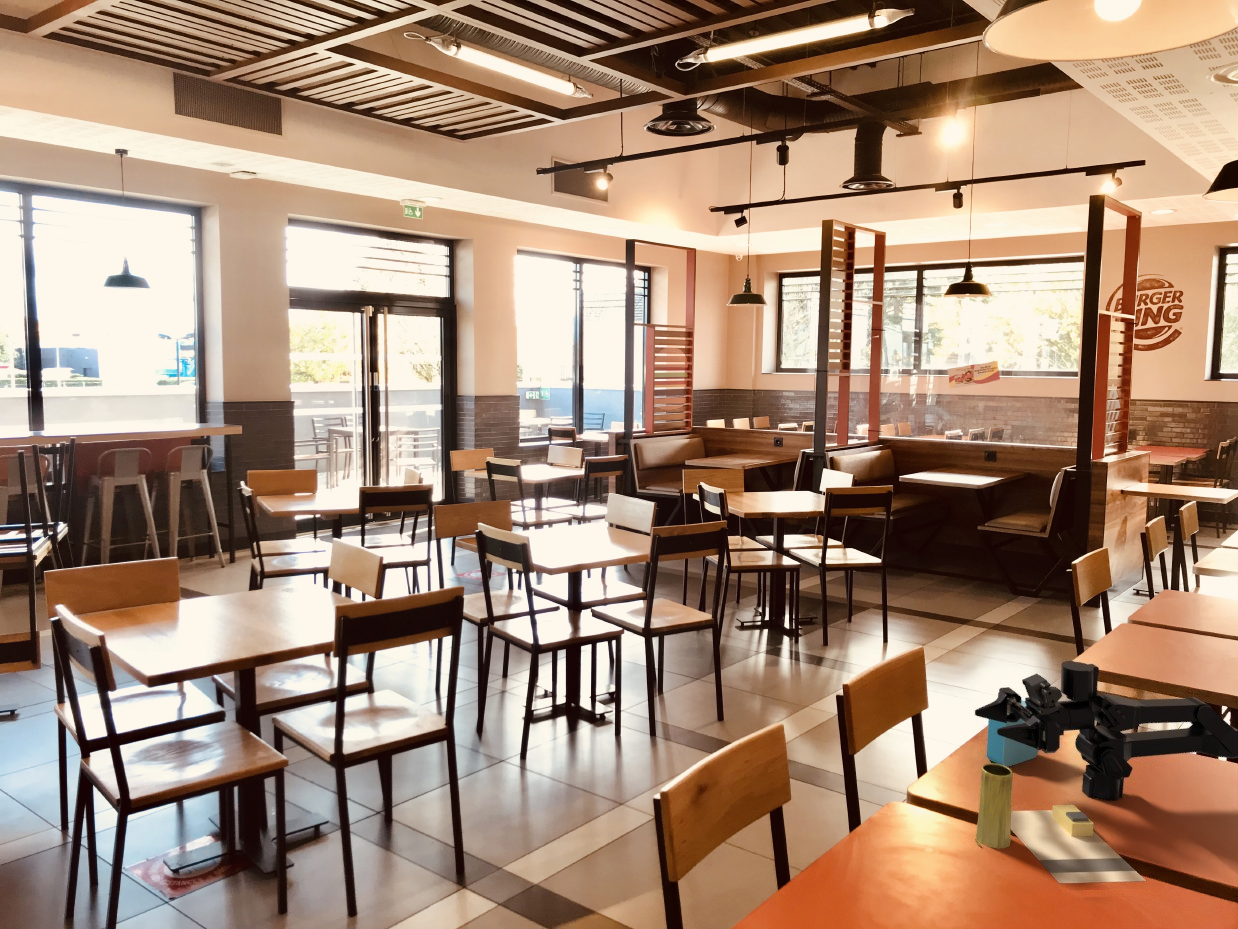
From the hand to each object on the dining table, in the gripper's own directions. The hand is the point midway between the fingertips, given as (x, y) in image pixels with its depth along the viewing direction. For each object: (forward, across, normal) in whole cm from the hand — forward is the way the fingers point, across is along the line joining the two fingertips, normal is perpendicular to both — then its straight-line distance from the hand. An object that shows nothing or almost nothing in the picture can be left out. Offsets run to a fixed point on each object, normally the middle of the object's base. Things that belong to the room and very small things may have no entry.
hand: (986, 722), depth 182 cm
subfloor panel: (-6, +17, +17) cm, 25 cm away
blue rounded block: (-15, -18, +18) cm, 30 cm away
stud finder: (-11, +12, +16) cm, 23 cm away
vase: (+6, +15, +17) cm, 23 cm away
